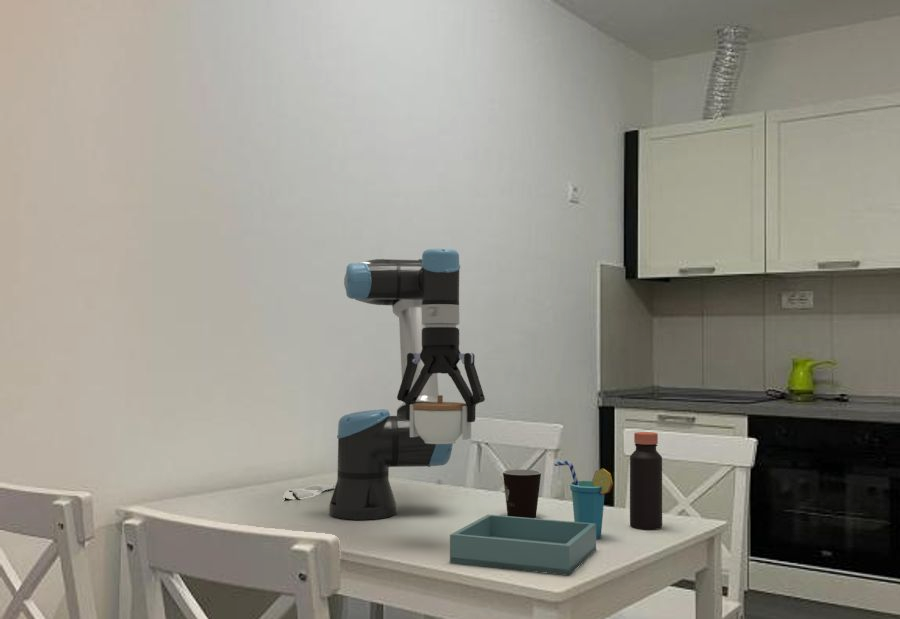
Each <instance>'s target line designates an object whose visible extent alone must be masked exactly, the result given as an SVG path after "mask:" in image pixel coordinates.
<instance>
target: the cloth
mask: <svg viewBox="0 0 900 619" xmlns="http://www.w3.org/2000/svg"><path fill="white" fill-rule="evenodd" d="M333 486H334V487H333ZM335 486H336V484H335V485H334V484H318V483H317V484H312V485H309V486H308V485H307V486H305V487H302V488H300V489H305V490H318V491H317V492H318V493H321V494H322V493H323V492H326V491H325V490H328V491H330V490H329V489H332V490H334V489H335ZM296 489H297V488H294V487H293V488H290V489H287V490H288V491H289V492H293V494H294V496H295V498H297V499H298V500H299V499H300V498H304V497H309V496H313V495H314V494H313V493H311V492H309V491H302V490H296ZM285 498H286V496H285ZM285 498H283V497H282V499H283V500H284V499H285ZM285 500H289V498H286V499H285ZM285 500H284V501H285Z"/></svg>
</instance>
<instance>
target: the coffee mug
mask: <svg viewBox="0 0 900 619" xmlns="http://www.w3.org/2000/svg"><path fill="white" fill-rule="evenodd" d="M541 475H542V472H541V471H539V470H535V469H524V468H523V469H519V468H518V469H505V470H503V471H502V476H503V477H502V478H503V484H504V485H503V486H504V493H505V494H504V496H505V504H506V512H507V513H506V514H507V515H506V516H513V517H524V518H536V519H537V511H538V504H539V503H538V502H539V493H540V485H541V479H542V478H541Z"/></svg>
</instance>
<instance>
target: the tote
mask: <svg viewBox="0 0 900 619" xmlns="http://www.w3.org/2000/svg"><path fill="white" fill-rule="evenodd" d="M596 551H597V539H596V524H595V523H583V522H574V521H570V520H557V519H548V518H547V519H546V518H545V519H544V518H537V517H536V518H524V517H513V516H508V515H500V514H499V515H498V514H486V515H484V516H483V517H481V518H478V519H477V520H474V521H473V522H471V523H469V524H467V525H465V526H464V527H462V528H460V529H458V530H456V531H454V532H453V533H451V534H449V563H450V564H451V563H452V564H460V565H466V566H467V565H470V566H476V565H478V566H479V567H486V566H488V567H487V568H495V567H496V568H497V569H504V568H507V569H506V570H513V569H515V571H523V570H525V571H524V572H532V571H537V572H536V573H541V572H547V573H546V574H550V573H556V574H555V575H559V574H566V575H565V576H571V575H572V574H573V573H574V572H575V571H576V570H577V569H578V568H579V567H580V566H581V565H582V564H583V563H584V562H586V560H587V559H589V558H590V557H591V555H593V553H594V552H596ZM581 563H582V564H581ZM580 564H581V565H580ZM579 565H580V566H579ZM578 566H579V567H578ZM577 567H578V568H577ZM576 568H577V569H576ZM575 569H576V570H575ZM574 570H575V571H574ZM573 571H574V572H573ZM572 572H573V573H572Z"/></svg>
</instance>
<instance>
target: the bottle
mask: <svg viewBox="0 0 900 619" xmlns="http://www.w3.org/2000/svg"><path fill="white" fill-rule="evenodd" d="M633 434H634V436H633V438H634V439H633V441H634V446H635V450H634V451H633V452H632V453H631V454H630V456H629V525H630V527H632V528H634V529H636V530H647V531H649V530H650V531H652V530H658V529H661V528H662V526H663V456H662V455H661V454H660V453H659V452H658V451H657V447H658V443H659V442H658V434H659V433H657V432H654V431H653V432H651V431H650V432H649V431H638V432H634V433H633Z"/></svg>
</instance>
